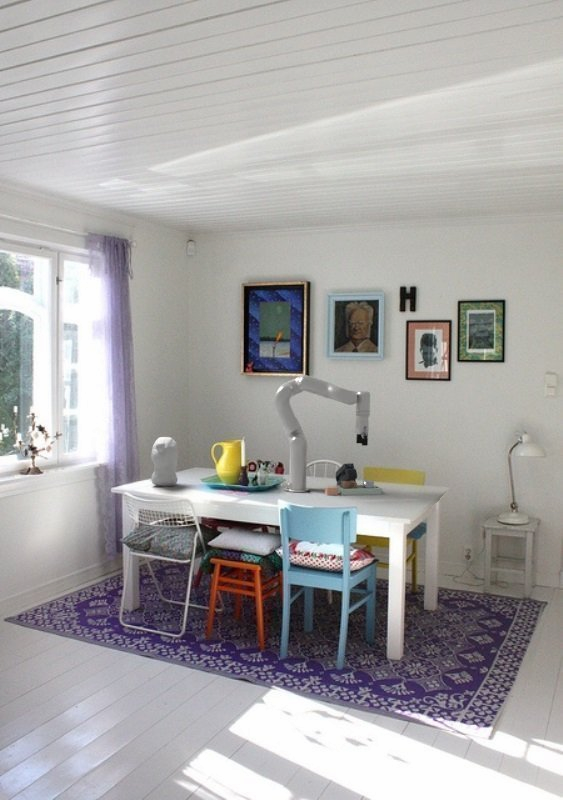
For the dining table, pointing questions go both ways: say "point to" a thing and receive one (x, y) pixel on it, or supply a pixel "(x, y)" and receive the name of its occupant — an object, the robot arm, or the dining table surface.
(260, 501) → the dining table surface
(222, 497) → the dining table surface
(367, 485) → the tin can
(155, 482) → the bust
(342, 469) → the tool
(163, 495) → the dining table surface
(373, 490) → the pale green flat tray
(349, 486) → the walnut block
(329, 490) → the terracotta box
